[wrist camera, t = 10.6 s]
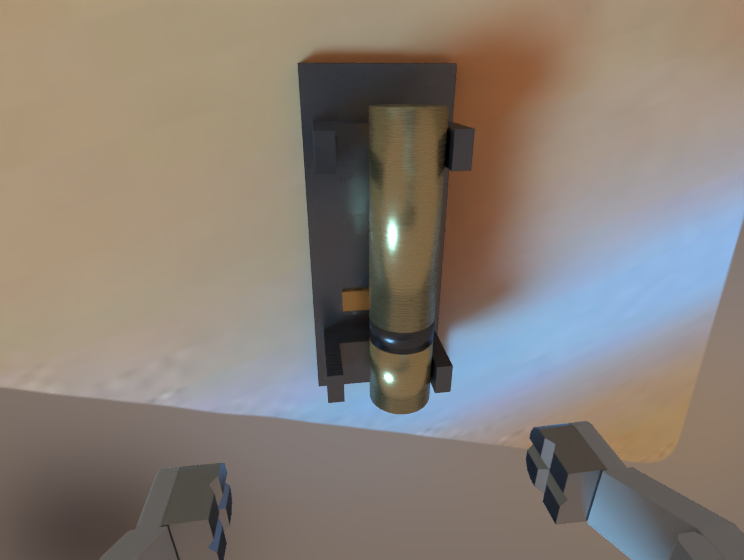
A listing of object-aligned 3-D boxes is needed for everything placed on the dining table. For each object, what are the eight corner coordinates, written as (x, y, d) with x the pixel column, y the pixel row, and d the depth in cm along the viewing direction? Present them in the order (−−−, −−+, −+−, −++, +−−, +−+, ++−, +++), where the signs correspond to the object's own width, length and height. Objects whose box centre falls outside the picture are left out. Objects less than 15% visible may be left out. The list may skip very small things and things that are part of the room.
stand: (298, 63, 25) (295, 59, 19) (451, 64, 26) (493, 59, 20) (318, 378, 34) (320, 440, 28) (430, 368, 35) (455, 426, 29)
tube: (353, 105, 22) (402, 109, 19) (413, 103, 24) (466, 106, 21) (358, 388, 30) (394, 423, 27) (403, 368, 32) (441, 398, 29)
